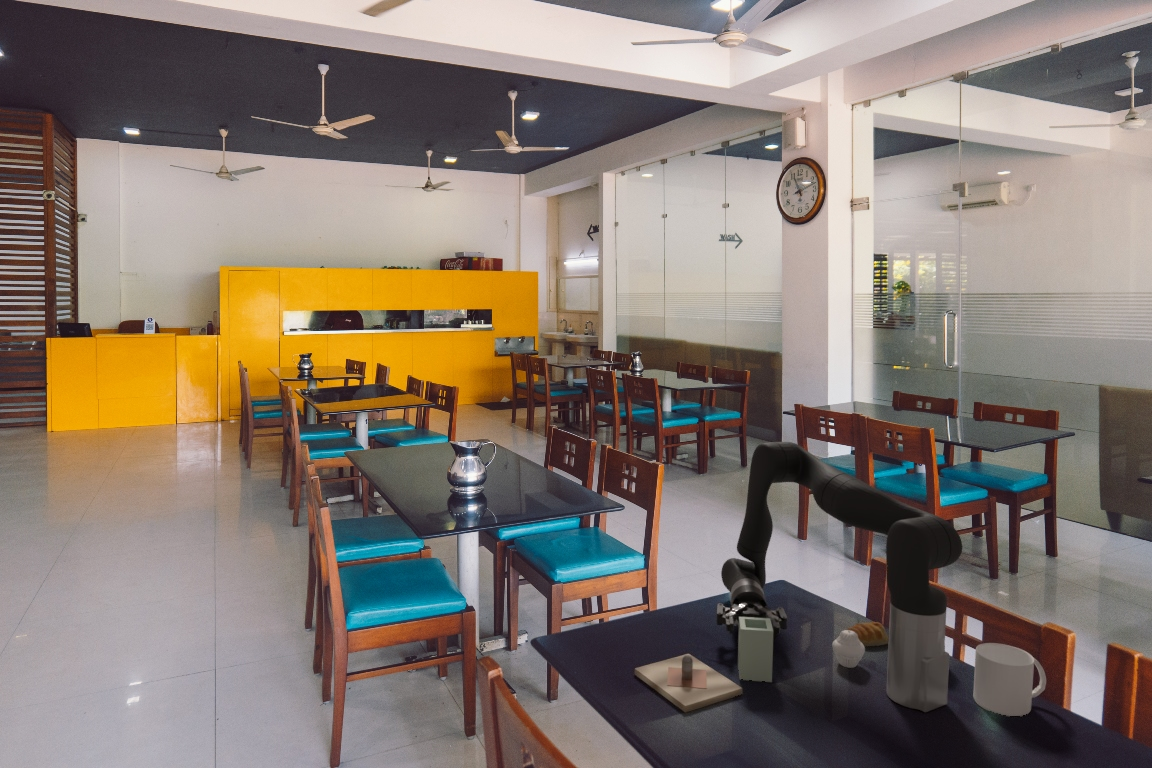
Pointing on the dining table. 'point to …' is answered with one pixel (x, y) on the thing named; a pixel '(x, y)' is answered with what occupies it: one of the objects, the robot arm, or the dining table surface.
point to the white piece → (848, 649)
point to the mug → (1005, 679)
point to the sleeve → (755, 649)
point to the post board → (688, 682)
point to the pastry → (870, 633)
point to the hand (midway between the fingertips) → (753, 630)
